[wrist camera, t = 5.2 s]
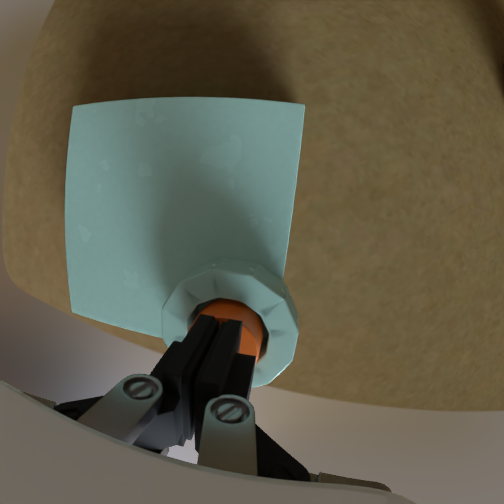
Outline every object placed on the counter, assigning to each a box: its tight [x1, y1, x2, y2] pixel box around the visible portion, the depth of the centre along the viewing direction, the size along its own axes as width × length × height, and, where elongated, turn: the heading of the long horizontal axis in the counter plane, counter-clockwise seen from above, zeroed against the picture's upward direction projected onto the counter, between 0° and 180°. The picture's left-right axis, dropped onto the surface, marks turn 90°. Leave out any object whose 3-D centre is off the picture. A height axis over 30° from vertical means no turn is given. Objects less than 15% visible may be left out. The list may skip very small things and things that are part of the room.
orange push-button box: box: [65, 97, 305, 388], centre depth 15 cm, size 13×13×6 cm
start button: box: [187, 299, 263, 364], centre depth 12 cm, size 3×3×2 cm
